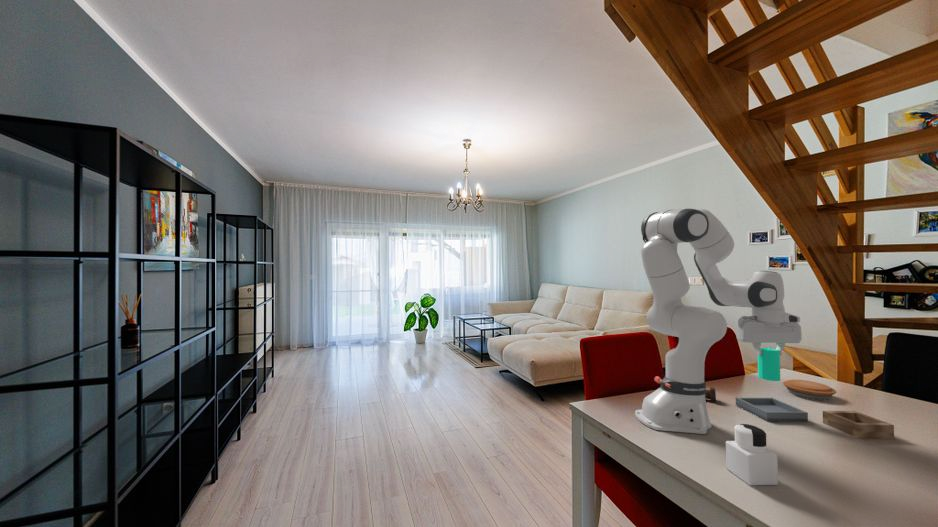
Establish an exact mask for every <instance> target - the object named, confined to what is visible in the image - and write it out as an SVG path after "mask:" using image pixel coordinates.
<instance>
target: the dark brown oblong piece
mask: <svg viewBox="0 0 938 527" xmlns="http://www.w3.org/2000/svg"><path fill="white" fill-rule="evenodd" d="M716 394H717V393H716V388H715V387H709V389H706V397H705V400H710V402H711V403H716V402H717V397H716V396H717V395H716Z"/></svg>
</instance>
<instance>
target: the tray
mask: <svg viewBox="0 0 938 527" xmlns="http://www.w3.org/2000/svg"><path fill="white" fill-rule="evenodd" d="M736 405H737V406H736ZM735 406H736V407H738V406H739V407H738V408H740V409H742V408H743V409H742V410H743V411H745V410H746V412H747V411H748V412H747V413H749V412H750V413H749V414H751V413H752V415H753V414H754V415H753V416H755V415H756V416H755V417H757V416H758V418H759V419H762V420H763V421H765V422H793V423H794V422H800V423H801V422H809V412H808V411H805V410H803V409H801V408H798V407H795V406H793V405H791V404H788V403H786V402H783V401H782V400H779V399H777V398H774V397H735Z"/></svg>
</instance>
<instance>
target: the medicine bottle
mask: <svg viewBox="0 0 938 527" xmlns="http://www.w3.org/2000/svg"><path fill="white" fill-rule="evenodd" d="M767 445H768V444H767V433H766V432H765V430H763V429H762V428H760V427H757V426H755V425H752V424H748V423H747V424H745V423H739V424H735V425H734V440H726V441H725V462H726V463H725V466H726V467H725V468H726V470H728V471H729V472H731V473H732V474H734V475H735V476H736V477H737V478H738V479H740V480H742V481H743V482H744V483H746V484H747V485H748V486H775V485H776V486H777V485H779V473H778V470H779V469H778V455H777V453H775V452H773V451H771V450H769V449H768V448H767Z"/></svg>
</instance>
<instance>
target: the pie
mask: <svg viewBox="0 0 938 527" xmlns="http://www.w3.org/2000/svg"><path fill="white" fill-rule="evenodd" d="M782 384H783V386H784V387H785V388H786V389H787V391H788V392H789V393H790V394H791V393H792V395H793V394H794V395H793V396H796V395H797V396H796V397H799V396H800V397H799V398H802V397H804V399H807V398H808V400H812V399H814V400H813V401H828V400H830V399H831V398H832V397H833V395H835V394H837V390H835V389H834V388H833V387H830V386H829V385H827V384H825V383H821V382H816V381H811V380H805V379H804V380H803V379H789V380H785V381H783V382H782Z"/></svg>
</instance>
